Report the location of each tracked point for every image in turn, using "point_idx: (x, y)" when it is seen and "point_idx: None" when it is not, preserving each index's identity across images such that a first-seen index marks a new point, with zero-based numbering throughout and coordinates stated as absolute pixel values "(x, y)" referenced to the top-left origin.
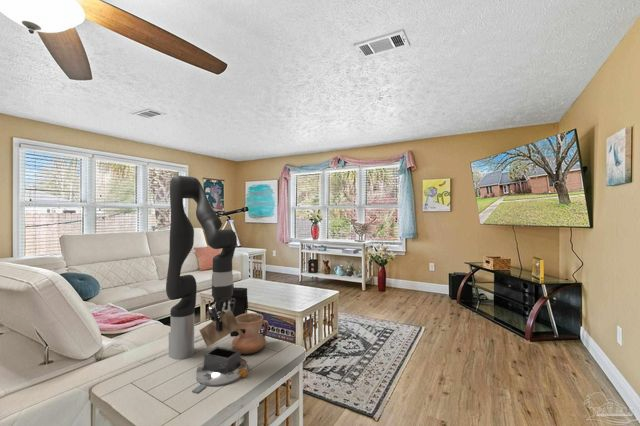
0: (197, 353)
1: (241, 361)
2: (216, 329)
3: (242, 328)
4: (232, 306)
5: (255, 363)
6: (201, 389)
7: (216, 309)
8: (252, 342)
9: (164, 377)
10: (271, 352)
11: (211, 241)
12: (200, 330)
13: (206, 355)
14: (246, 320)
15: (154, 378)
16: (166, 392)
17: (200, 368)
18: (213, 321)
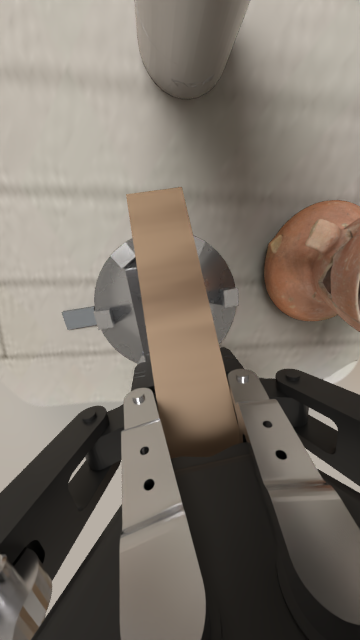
0: (216, 107)
1: (219, 324)
2: (137, 368)
3: (332, 288)
4: (350, 475)
5: (244, 337)
6: (80, 327)
7: (110, 529)
8: (304, 308)
9: (46, 161)
10: (310, 331)
11: None
12: (128, 207)
13: (128, 281)
14: None
15: (18, 131)
16: (14, 252)
17: (118, 264)
18: (149, 341)
